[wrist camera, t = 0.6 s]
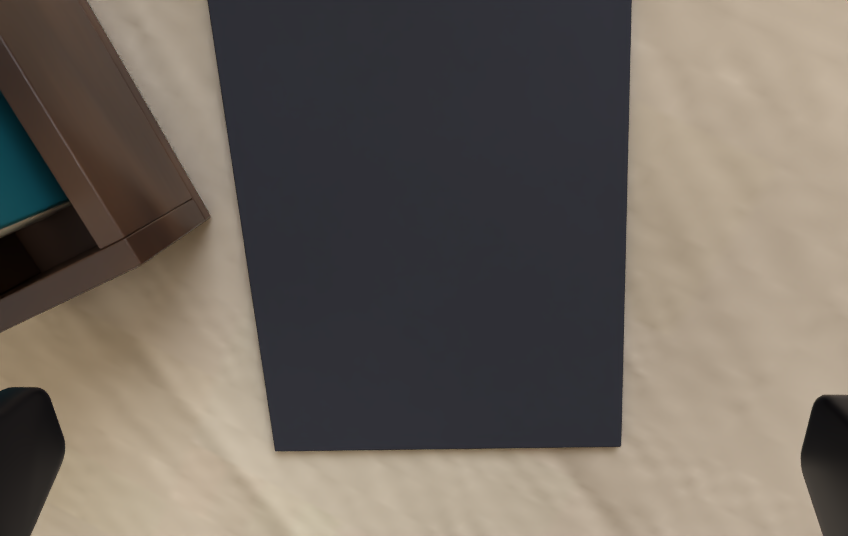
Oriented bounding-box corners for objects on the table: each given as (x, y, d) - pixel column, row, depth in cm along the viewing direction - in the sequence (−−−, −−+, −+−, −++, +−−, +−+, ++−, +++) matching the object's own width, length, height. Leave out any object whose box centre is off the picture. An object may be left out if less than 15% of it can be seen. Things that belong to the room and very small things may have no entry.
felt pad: (619, 442, 24) (621, 447, 24) (277, 447, 26) (274, 451, 25) (635, -243, 18) (637, -247, 18) (181, -197, 19) (177, -200, 19)
